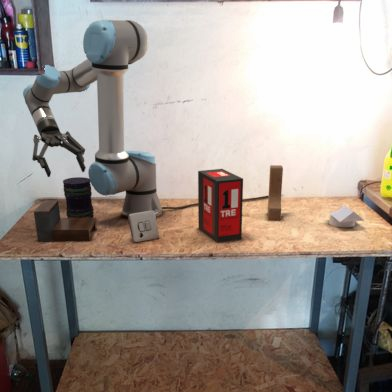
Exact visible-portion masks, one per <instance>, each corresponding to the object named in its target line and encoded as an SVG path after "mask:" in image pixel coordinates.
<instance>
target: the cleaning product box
mask: <svg viewBox="0 0 392 392" xmlns="http://www.w3.org/2000/svg"><path fill="white" fill-rule="evenodd" d="M243 192H244V178H243V177H241V176H238V175H236V174H234V173H232V172H230V171H228V170H226V169H223V168H214V169H205V170H198V171H197V201H198V202H197V203H198V205H197V206H198V207H197V208H198V210H197V211H198V215H197V216H198V230H199V231H201V232H202V233H204V234H205V235H206V236H208V237H209V238H210V239H212V240H213V241H214V242H216V243H217V244H218V243H223V242H224V243H225V242H231V241H238V240H242V237H243V236H242V235H243V233H242V231H243V202H244V201H243V199H244V198H243V197H244V196H243V195H244V193H243Z"/></svg>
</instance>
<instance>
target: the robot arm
mask: <svg viewBox="0 0 392 392" xmlns="http://www.w3.org/2000/svg"><path fill="white" fill-rule="evenodd" d="M82 40H83V41H82V47H83V53H84V55H85V57H86V59H85V60H83V61H82V62H80V63H79V64H77V65H76V66H75V67H73V68H71V69H68V70H58V69H57V68H56V67H54V66H53V65H52V66H51V65H50V64H44V65H45V68H44V70H45V72H44V74H42V75H37V74H36V77H35V79H34V82H33V83H32V84H28V85H27V86H26V87H25V88H24V89H23V90H22V96H23V99H24V102H25V104H26V106H27V109H28V111H29V114H30V115H31V117H32V120H33V122H34V125H35V127H36V129H37V132H38V134H39V135H38V134H34V135H33V138H32V139H33V140H32V141H33V150H32V157H31V158H32V159H31V160H32V161H33V162H35V161H37V163H38V164H39V166H40V168H41V169H43V170H44V172H45V174H46V176H47V178H50V177H51V174H52V171H51V169H50V166H49V164H48V161H47V159H46V157H44V156H45V154H46V153H47V150H48V148H49V147H50V148H55V147H60V148H63V149H65V150H67V151H68V152H70V153H71V154H73V155H75V158H76V161H77V164H78V165H79V168H80V170H81V173H85V171H86V168H87V167H86V165H85V157H84V155H85V152H86V148H84V147H83V146H82V144H80V142H78V141H77V140H76V139H75V138H74V137H73V136H72V134H71V133H70V132H69V131H68V130H67V131H65V132H64V133H62V132H61V131H60V128H59V125H58V123H57V121H56V119H55V116H54V114H53V111H52V109H51V107H50V104H49V103H50V101H52V98H53V96H54V95H60V94H70V93H82V92H85V90H86V91H88V90H89V89H90V87H91V85H92V84H93V83H95V82H96V88H97V89H96V90H97V121H98V126H97V127H98V150H97V151H96V152H95V153H94V161H93V162H92V163H90V165H89V166H88V170H87V171H88V173H87V174H88V178H89V179H90V184H91V187H93V189H94V190H95V191H96V193H98V194H99V195H102V196H115V195H117V194H120V193H124V192H125V196H124V200H123V205H122V209H121V211H122V214H121V215H122V216H123V217H125V218H127V219H128V217H129V215H130V214H134V213H139V212H145V211H151V210H152V211H155V216H156V218H158V217H160V216H162V215H163V210H180V209H186V208H189V207H194V206H198V202H196V203H195V202H194V203H189V204H186V205H181V206H162V204H161V201H160V199H159V196H158V192H157V167H156V166H157V163H156V157H155V155H154V153H152V152H150V151H149V152H148V151H144V150H143V151H142V150H125V94H124V93H125V92H124V89H125V88H124V86H125V85H124V84H125V83H124V80H125V79H124V77H125V73H127V72H128V70H129V66H130V65H132V64H134V63H136V62H138V61H140V60H141V59H143V58H144V56H145V55H146V54H147V52H148V48H149V35H148V33H147V31H146V29H145V28H144V27H143V26H142V25H141V24H140V23H139V22H137V21H134V20H131V19H129V20H121V19H120V20H116V19H114V20H113V19H102V20H95V21H92V22H91V23H89V24H88V27H87V28H86V30H85V31H84V34H83V39H82ZM88 88H89V89H88ZM87 89H88V90H87ZM40 142H42V143H44V144H43V146H42V148H41V150H40V152H39V154H38V148H39V143H40ZM268 196H269V194H268V195H263V196H257V197H249V198H243V202H246V201H247V202H248V201H249V202H250V201H257V200H263V199H267V198H268Z"/></svg>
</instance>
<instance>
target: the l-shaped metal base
mask: <svg viewBox="0 0 392 392" xmlns="http://www.w3.org/2000/svg"><path fill="white" fill-rule="evenodd" d="M60 212H61V211H60V205H59V200H58V199H53V200H51V199H47V200H45V199H44V200H43V201H42V202H41V203H39V205H38V206H37V207H36V208H35V209H34V210H33V218H34V224H35V230H36V237H37V238H36V239H37V242H90V241H91V231H96V230H97V218H96V217H93V218H67V217H61V213H60Z"/></svg>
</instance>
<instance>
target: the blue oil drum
mask: <svg viewBox="0 0 392 392" xmlns="http://www.w3.org/2000/svg"><path fill="white" fill-rule="evenodd" d="M62 184H63V193H64V194H63V195H64V198H65V204H66V205H65V206H66V207H65V211H66V212H65V213H66V216H67V217H66V218H95V216H94V205H93V202H92V194H93V192H92V184H91V182H90V179H89V177H84V176H83V177H81V176H79V177H76V176H75V177H69V178H65V179H63V180H62Z"/></svg>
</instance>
